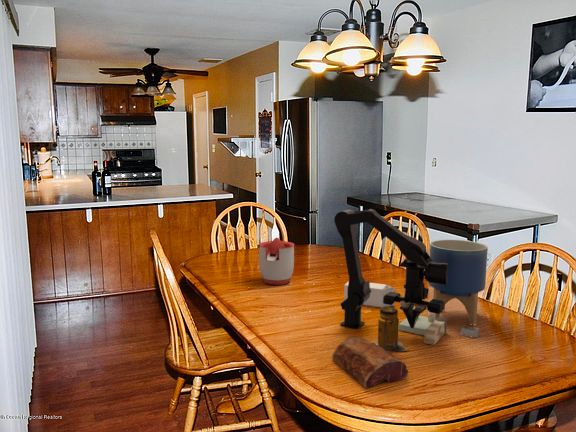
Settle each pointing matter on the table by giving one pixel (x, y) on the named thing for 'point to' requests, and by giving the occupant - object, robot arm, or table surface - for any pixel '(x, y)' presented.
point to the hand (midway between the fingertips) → (412, 327)
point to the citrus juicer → (276, 261)
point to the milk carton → (374, 294)
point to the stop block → (470, 331)
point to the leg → (435, 330)
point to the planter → (461, 272)
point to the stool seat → (418, 324)
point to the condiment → (389, 330)
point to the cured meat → (368, 362)
